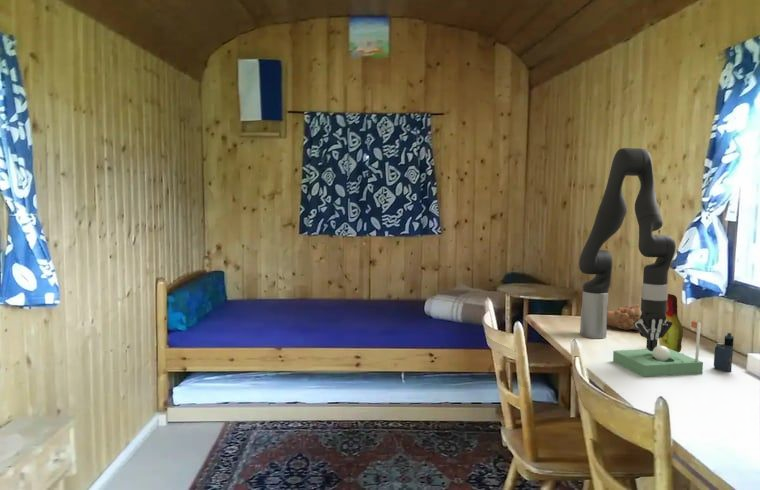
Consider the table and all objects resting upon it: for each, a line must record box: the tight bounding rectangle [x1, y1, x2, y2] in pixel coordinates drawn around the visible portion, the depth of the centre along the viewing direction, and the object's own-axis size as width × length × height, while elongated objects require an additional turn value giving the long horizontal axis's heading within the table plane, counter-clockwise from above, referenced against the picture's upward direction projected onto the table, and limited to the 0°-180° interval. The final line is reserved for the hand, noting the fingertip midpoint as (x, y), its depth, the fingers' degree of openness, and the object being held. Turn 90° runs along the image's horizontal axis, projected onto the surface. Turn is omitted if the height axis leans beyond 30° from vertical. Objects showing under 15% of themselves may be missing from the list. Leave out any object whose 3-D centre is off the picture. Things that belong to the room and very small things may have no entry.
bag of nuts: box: [607, 303, 642, 331], centre depth 233 cm, size 19×11×15 cm
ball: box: [653, 344, 670, 362], centre depth 179 cm, size 5×5×5 cm
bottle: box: [658, 293, 684, 353], centre depth 200 cm, size 12×6×20 cm, turn 172°
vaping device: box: [713, 332, 735, 373], centre depth 179 cm, size 3×5×12 cm, turn 28°
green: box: [612, 320, 704, 378], centre depth 181 cm, size 16×20×16 cm
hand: (651, 350), depth 184 cm, fingers closed
